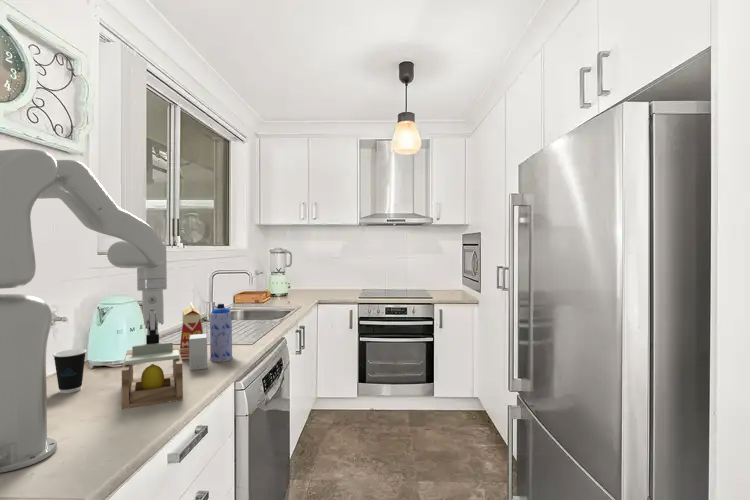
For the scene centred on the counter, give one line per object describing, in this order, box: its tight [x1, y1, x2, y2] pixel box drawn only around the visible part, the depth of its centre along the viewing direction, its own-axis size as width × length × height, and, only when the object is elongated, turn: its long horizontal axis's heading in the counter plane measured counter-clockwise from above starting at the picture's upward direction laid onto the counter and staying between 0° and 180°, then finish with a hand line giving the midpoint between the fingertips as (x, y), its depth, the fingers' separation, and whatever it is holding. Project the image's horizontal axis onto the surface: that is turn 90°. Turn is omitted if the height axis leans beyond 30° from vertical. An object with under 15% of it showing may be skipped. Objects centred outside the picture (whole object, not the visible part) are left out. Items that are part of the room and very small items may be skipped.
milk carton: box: [179, 301, 204, 360], centre depth 160 cm, size 9×9×20 cm
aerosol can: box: [209, 303, 234, 362], centre depth 156 cm, size 8×8×20 cm
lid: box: [124, 341, 180, 365], centre depth 118 cm, size 7×13×4 cm, turn 117°
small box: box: [188, 333, 208, 371], centre depth 146 cm, size 8×6×10 cm
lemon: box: [140, 363, 165, 390], centre depth 116 cm, size 6×6×8 cm
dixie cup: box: [52, 348, 88, 394], centre depth 122 cm, size 8×8×11 cm
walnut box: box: [121, 344, 184, 410], centre depth 122 cm, size 24×14×10 cm, turn 27°
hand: (152, 348), depth 123 cm, fingers closed
